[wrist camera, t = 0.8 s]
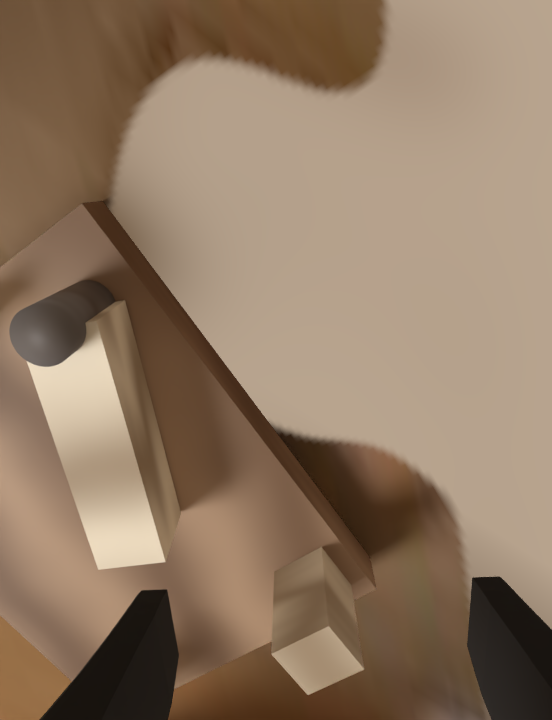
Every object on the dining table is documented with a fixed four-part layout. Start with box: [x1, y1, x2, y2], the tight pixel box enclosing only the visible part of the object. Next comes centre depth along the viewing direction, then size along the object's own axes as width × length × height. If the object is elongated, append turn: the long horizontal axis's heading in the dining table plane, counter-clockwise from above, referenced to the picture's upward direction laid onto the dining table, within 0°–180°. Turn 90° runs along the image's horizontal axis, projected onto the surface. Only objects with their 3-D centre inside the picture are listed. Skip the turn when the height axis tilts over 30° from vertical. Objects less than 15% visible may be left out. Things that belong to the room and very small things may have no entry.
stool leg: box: [9, 280, 181, 570], centre depth 17 cm, size 10×2×4 cm, turn 9°
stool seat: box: [0, 201, 376, 695], centre depth 20 cm, size 15×19×6 cm
